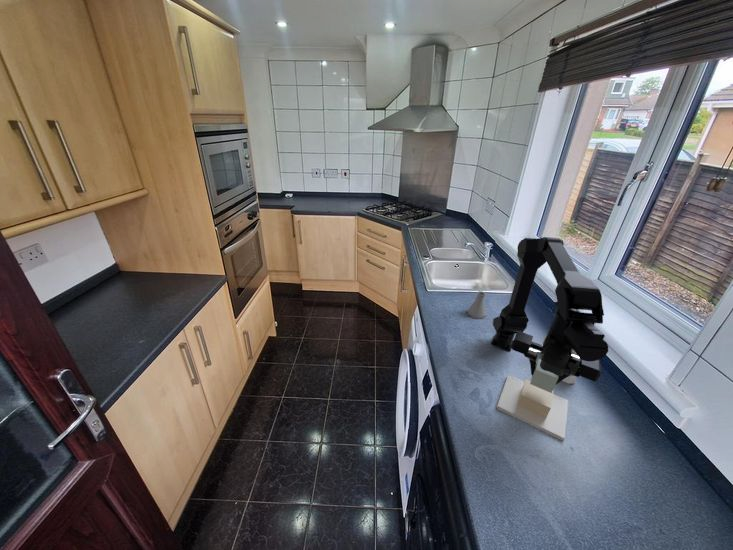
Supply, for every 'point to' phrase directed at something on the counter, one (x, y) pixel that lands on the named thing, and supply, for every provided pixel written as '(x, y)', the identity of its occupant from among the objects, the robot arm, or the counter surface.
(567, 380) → the pepper shaker
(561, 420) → the build base
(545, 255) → the robot arm
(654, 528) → the counter surface
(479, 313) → the flask
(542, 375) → the sage cube
